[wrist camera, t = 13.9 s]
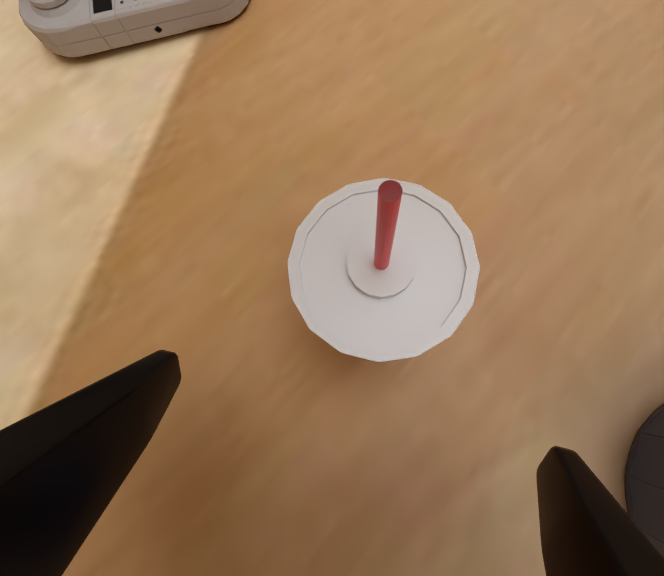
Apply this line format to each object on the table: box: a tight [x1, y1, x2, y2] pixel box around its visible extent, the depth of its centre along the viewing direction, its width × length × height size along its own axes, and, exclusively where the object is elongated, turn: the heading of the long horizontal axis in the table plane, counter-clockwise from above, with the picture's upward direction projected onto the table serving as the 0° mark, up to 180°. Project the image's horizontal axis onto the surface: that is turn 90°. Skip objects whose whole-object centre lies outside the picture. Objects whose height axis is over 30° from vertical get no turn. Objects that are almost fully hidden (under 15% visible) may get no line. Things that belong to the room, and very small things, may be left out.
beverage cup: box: [287, 178, 480, 362], centre depth 14 cm, size 6×6×14 cm
